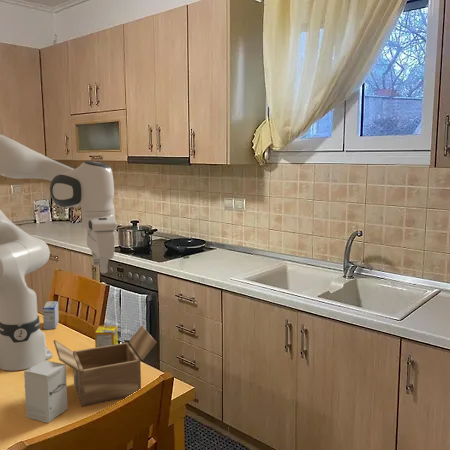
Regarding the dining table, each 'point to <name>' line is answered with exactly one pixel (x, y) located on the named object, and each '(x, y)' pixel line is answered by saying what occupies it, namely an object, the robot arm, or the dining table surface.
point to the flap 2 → (142, 342)
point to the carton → (106, 373)
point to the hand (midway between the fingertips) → (100, 268)
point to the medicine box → (50, 315)
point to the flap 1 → (66, 355)
